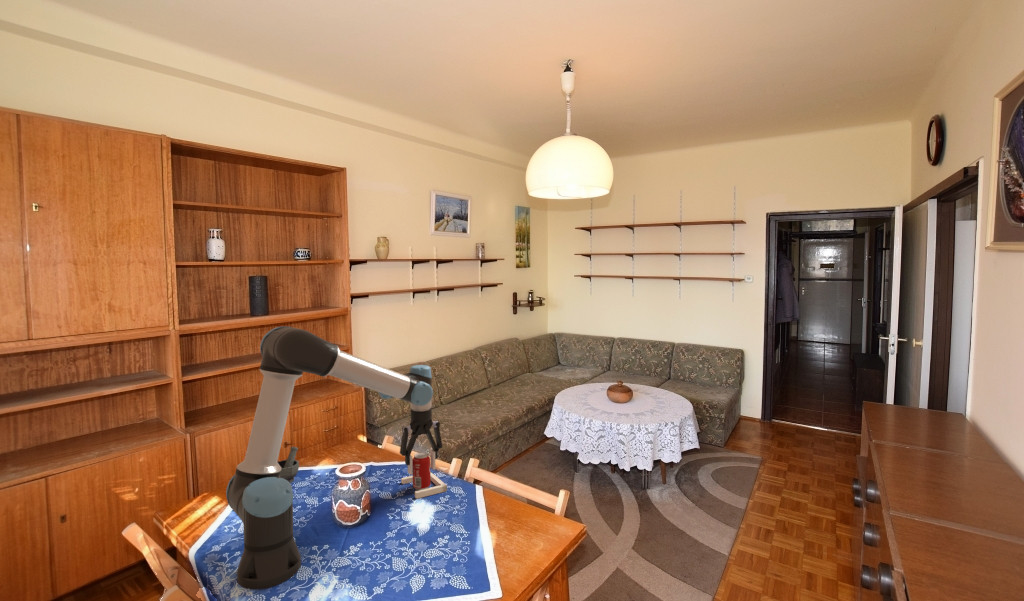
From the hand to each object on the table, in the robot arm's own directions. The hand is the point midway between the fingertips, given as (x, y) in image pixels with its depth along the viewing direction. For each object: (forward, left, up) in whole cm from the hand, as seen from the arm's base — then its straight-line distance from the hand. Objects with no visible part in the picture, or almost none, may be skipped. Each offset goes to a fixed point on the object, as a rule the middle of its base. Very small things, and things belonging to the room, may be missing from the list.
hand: (421, 470), depth 175 cm
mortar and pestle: (+33, +40, -6) cm, 52 cm away
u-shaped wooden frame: (0, 0, -6) cm, 6 cm away
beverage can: (0, 0, -6) cm, 6 cm away
